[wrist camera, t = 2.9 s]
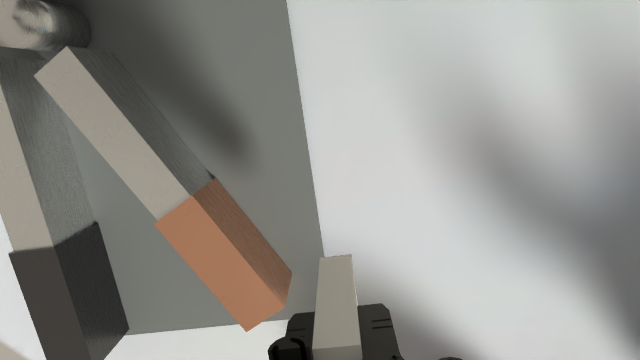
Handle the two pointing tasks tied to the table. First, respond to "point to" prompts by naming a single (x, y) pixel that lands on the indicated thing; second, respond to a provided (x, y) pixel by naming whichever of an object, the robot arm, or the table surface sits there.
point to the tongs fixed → (53, 224)
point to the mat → (204, 146)
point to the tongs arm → (151, 160)
